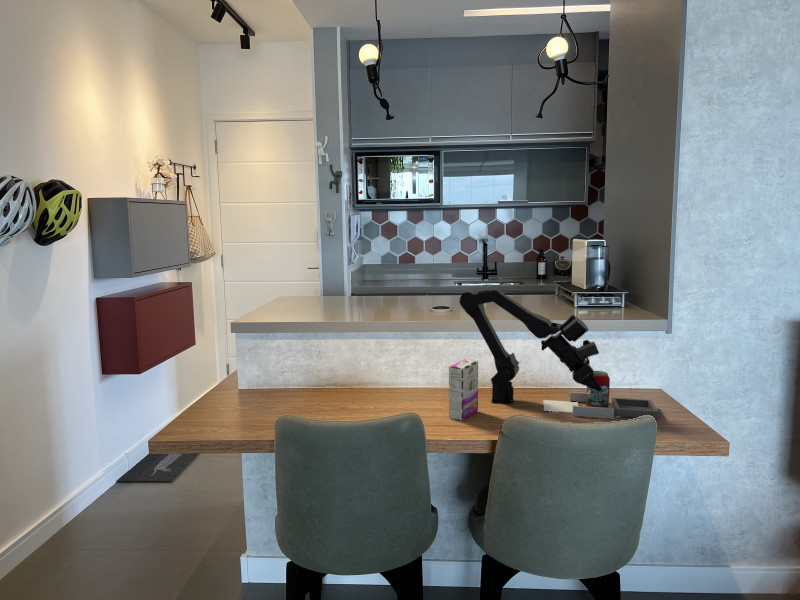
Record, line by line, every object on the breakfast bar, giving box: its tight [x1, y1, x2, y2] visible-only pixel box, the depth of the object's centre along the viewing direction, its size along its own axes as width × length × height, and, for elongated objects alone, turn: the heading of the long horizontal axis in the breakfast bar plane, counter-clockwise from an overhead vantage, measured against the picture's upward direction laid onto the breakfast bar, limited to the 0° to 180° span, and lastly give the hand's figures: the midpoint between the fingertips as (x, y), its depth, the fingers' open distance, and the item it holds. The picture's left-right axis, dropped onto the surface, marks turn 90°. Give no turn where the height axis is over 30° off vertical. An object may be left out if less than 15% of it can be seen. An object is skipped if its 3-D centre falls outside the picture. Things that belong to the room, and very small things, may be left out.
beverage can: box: [585, 370, 611, 408], centre depth 192 cm, size 7×7×12 cm
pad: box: [542, 399, 580, 414], centre depth 195 cm, size 11×11×1 cm
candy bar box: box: [448, 358, 479, 422], centre depth 187 cm, size 11×5×16 cm, turn 148°
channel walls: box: [568, 391, 615, 420], centre depth 193 cm, size 12×16×3 cm
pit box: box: [610, 397, 659, 420], centre depth 191 cm, size 12×12×2 cm
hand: (599, 386), depth 192 cm, fingers open, 9 cm apart
